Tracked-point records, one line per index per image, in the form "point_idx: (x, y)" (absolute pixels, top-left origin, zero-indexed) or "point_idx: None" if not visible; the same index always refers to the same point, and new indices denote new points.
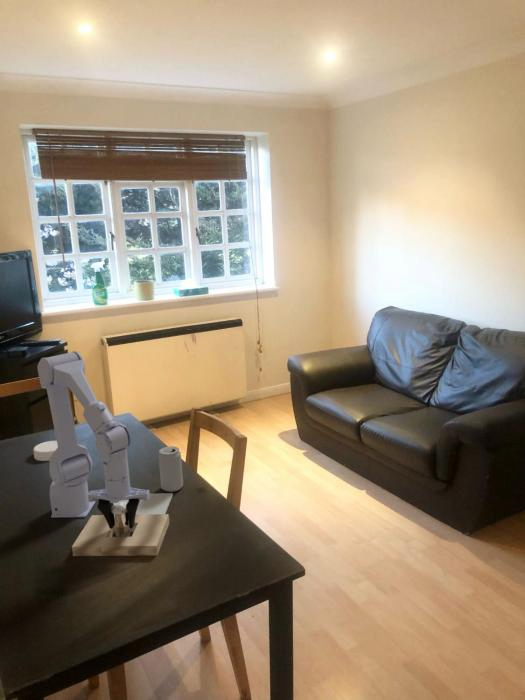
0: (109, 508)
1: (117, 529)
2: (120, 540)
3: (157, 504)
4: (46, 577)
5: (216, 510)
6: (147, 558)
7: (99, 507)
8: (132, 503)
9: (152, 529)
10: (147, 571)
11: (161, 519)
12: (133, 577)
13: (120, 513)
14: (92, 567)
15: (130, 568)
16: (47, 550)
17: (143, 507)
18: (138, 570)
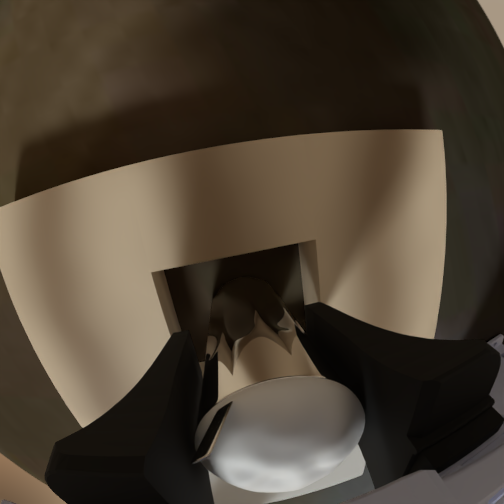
0: (380, 405)
1: (267, 305)
2: (202, 218)
3: (214, 484)
4: (421, 11)
5: (32, 461)
6: (41, 169)
7: (488, 349)
8: (100, 501)
9: (81, 354)
10: (14, 84)
11: None
12: (56, 29)
13: (246, 390)
14: (285, 47)
15: (87, 74)
16: (488, 170)
17: None
18: (48, 74)
